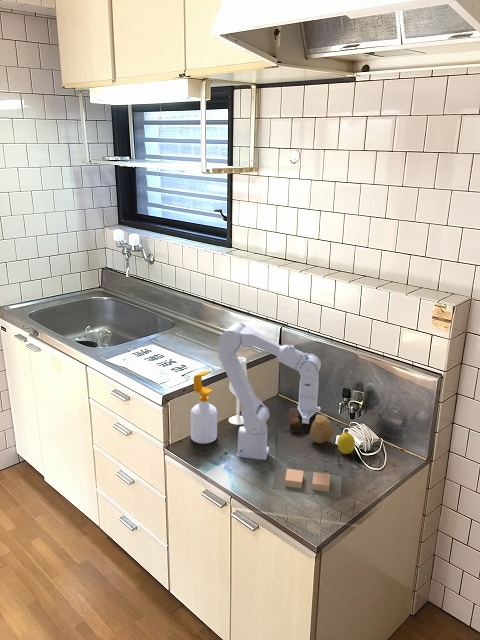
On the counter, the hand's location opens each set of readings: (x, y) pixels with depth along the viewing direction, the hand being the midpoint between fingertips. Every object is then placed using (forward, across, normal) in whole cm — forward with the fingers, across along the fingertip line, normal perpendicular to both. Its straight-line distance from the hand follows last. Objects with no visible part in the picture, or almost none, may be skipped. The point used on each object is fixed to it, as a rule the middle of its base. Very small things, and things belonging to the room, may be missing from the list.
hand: (305, 433), depth 175 cm
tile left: (+9, -9, +2) cm, 13 cm away
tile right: (+9, -9, -6) cm, 14 cm away
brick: (+11, +24, +5) cm, 26 cm away
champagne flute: (+11, +23, +26) cm, 36 cm away
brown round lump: (+11, +14, -4) cm, 18 cm away
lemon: (+11, +8, -13) cm, 19 cm away
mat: (+10, -12, -2) cm, 16 cm away
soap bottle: (+11, +8, +35) cm, 37 cm away
